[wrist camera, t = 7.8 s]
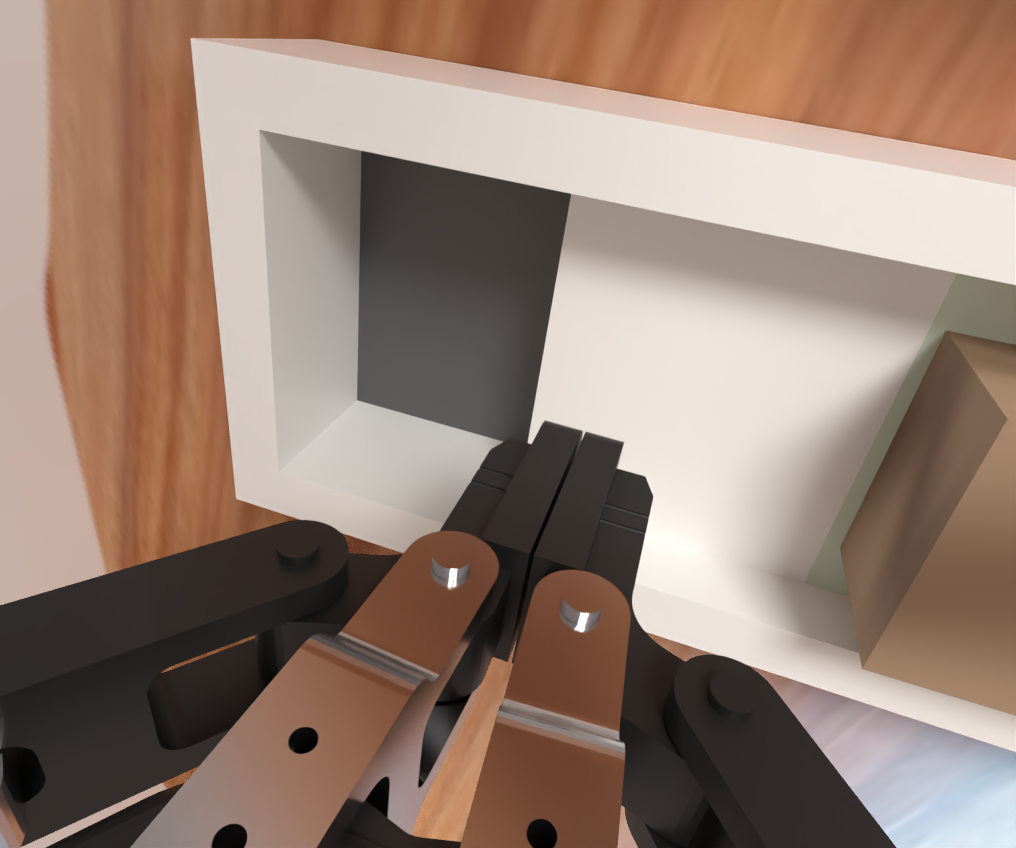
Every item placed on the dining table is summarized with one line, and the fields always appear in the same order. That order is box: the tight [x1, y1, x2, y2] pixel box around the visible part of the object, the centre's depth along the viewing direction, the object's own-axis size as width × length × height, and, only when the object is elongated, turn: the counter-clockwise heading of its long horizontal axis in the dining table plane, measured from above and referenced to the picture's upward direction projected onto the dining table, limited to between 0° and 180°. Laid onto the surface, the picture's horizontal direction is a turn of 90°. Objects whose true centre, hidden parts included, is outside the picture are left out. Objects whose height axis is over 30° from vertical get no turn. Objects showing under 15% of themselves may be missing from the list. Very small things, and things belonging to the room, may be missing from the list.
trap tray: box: [190, 38, 1016, 752], centre depth 16 cm, size 12×32×5 cm, turn 82°
